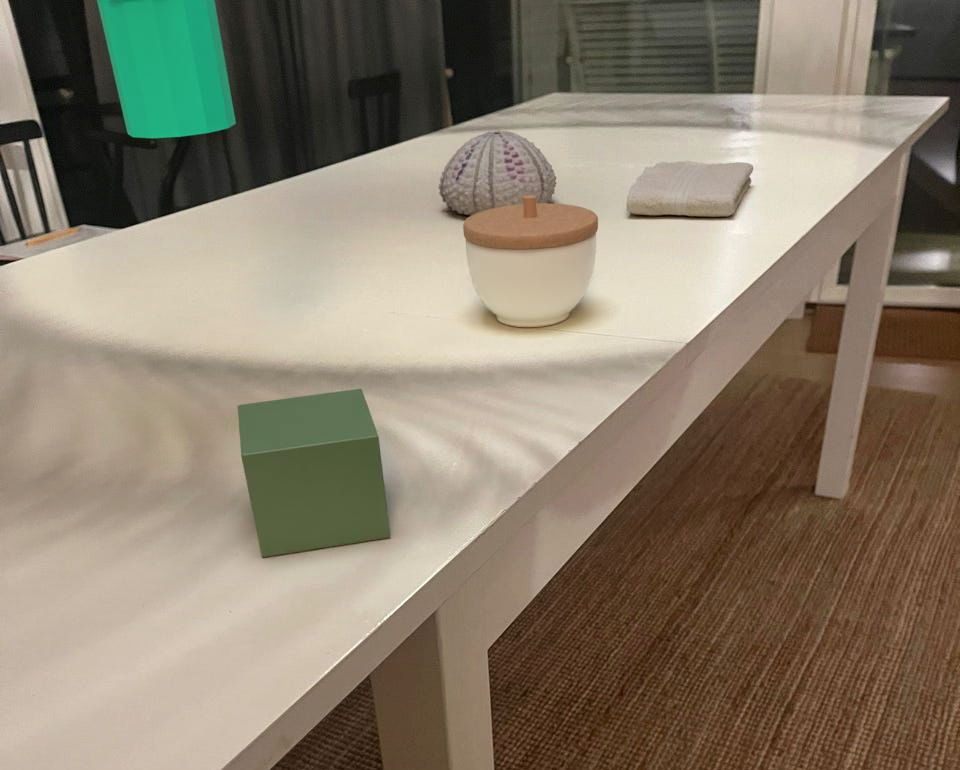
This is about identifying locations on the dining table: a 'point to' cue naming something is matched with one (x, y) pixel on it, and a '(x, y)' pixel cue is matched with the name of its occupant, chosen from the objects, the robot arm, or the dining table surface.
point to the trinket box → (531, 260)
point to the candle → (168, 66)
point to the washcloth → (689, 189)
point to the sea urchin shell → (495, 174)
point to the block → (313, 472)
